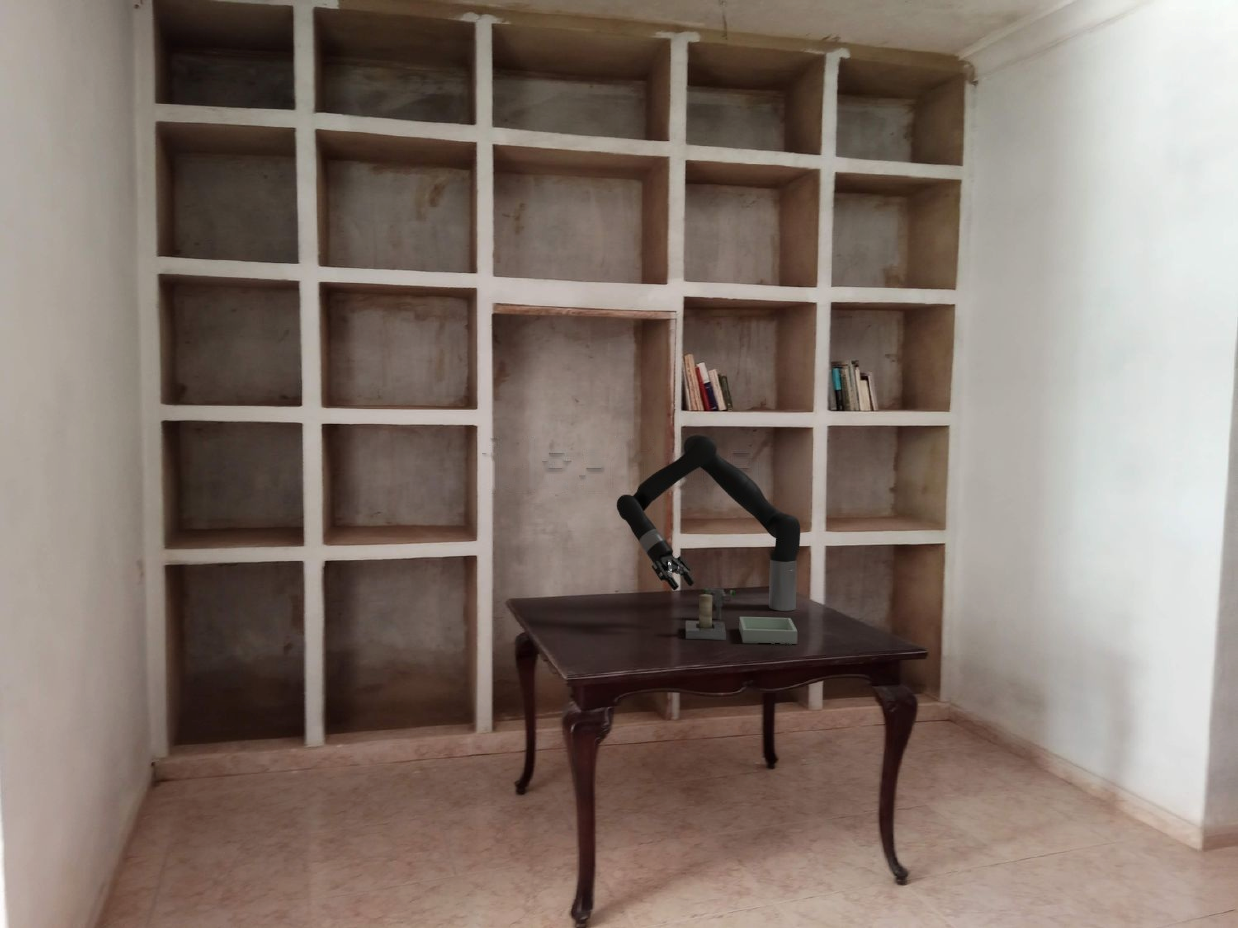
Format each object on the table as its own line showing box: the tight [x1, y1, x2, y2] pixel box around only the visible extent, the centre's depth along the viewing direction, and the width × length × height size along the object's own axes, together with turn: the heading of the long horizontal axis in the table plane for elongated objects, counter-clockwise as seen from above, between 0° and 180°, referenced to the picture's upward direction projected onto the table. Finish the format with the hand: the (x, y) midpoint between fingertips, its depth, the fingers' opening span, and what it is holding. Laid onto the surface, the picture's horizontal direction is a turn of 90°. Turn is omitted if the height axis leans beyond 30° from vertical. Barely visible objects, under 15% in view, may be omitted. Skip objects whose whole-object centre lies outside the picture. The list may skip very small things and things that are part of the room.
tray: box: [738, 616, 798, 645], centre depth 261 cm, size 16×16×4 cm
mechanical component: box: [702, 587, 736, 620], centre depth 282 cm, size 3×10×10 cm, turn 79°
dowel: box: [698, 594, 713, 629], centre depth 263 cm, size 4×4×12 cm
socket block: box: [685, 620, 727, 641], centre depth 264 cm, size 12×12×2 cm
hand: (684, 586), depth 268 cm, fingers open, 8 cm apart
